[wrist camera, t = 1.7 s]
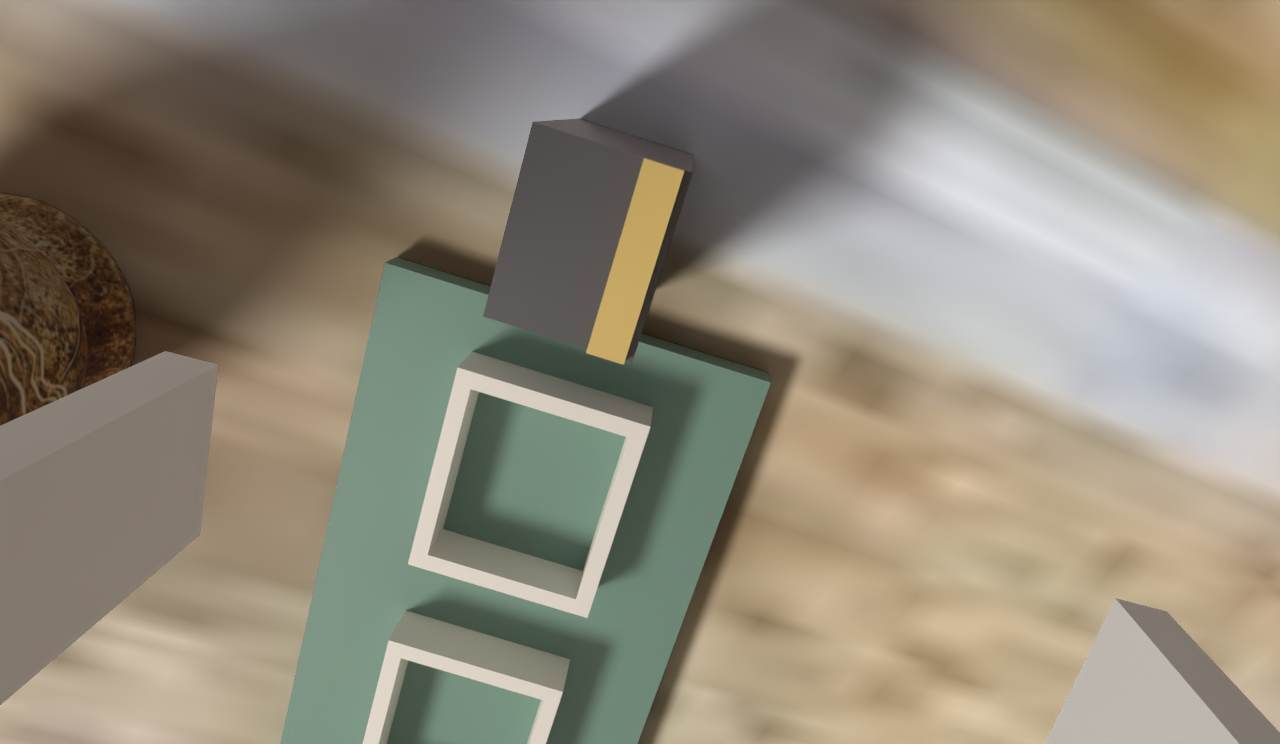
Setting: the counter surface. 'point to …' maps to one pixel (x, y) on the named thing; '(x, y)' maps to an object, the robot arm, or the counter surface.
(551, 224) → the plug
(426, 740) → the board
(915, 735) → the counter surface
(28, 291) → the vase
